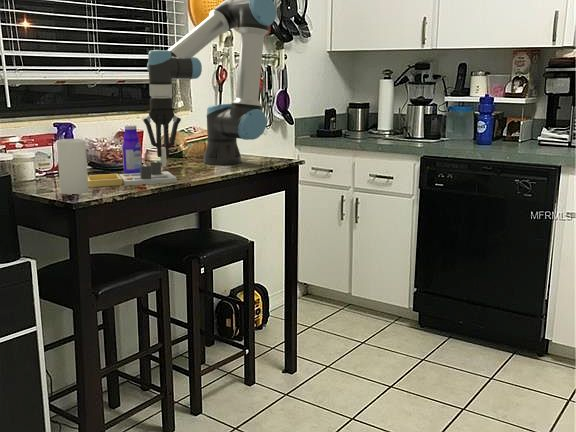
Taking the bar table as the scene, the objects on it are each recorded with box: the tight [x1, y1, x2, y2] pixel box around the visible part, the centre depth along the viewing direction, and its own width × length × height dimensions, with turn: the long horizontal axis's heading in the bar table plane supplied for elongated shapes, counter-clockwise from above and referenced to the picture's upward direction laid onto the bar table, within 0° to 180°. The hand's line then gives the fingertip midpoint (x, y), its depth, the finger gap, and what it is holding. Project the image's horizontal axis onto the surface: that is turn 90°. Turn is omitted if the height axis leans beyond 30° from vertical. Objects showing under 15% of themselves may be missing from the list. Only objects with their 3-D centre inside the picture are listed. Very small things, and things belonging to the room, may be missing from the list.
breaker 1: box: [140, 164, 151, 179], centre depth 208 cm, size 3×3×4 cm
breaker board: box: [118, 171, 178, 187], centre depth 213 cm, size 17×14×2 cm
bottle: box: [122, 124, 143, 174], centre depth 223 cm, size 7×6×17 cm
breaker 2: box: [149, 160, 162, 174], centre depth 216 cm, size 3×3×4 cm
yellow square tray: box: [88, 173, 123, 188], centre depth 207 cm, size 11×11×2 cm
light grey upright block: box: [56, 138, 90, 196], centre depth 191 cm, size 8×8×16 cm
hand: (163, 166), depth 217 cm, fingers closed
